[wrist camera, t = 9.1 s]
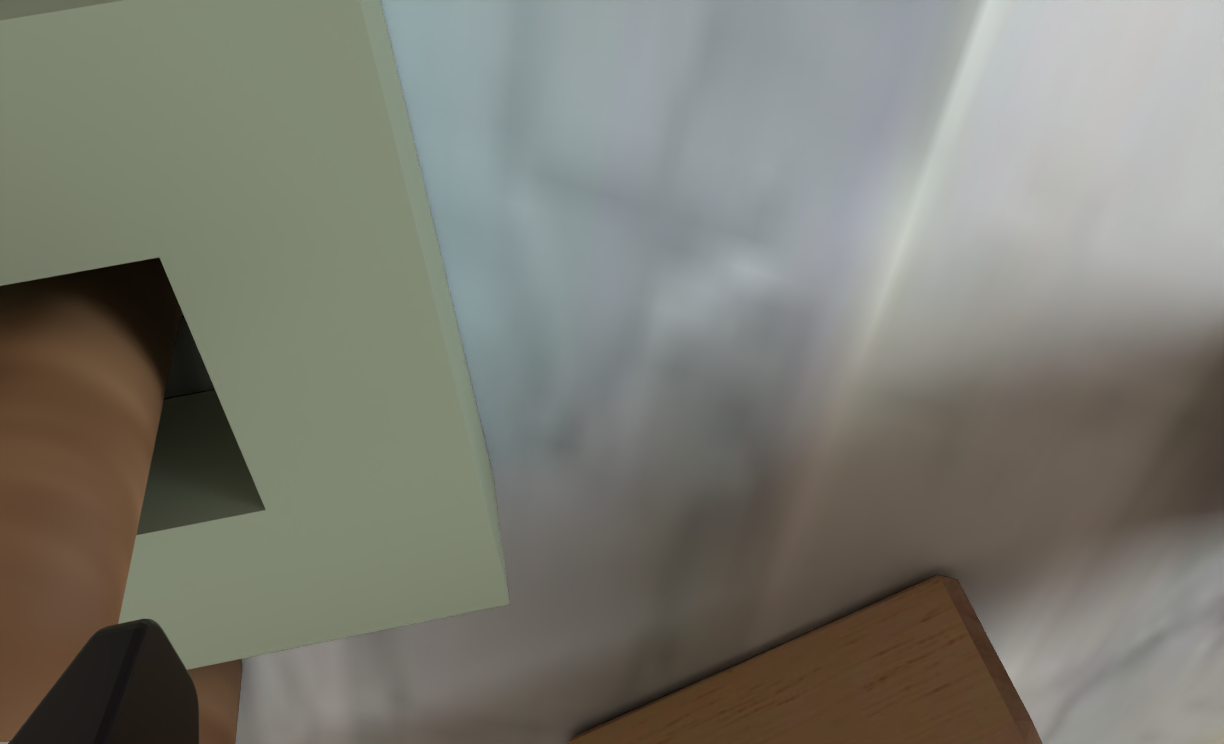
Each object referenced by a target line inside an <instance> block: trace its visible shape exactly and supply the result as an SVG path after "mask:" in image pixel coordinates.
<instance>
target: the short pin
mask: <svg viewBox="0 0 1224 744" xmlns="http://www.w3.org/2000/svg"><path fill="white" fill-rule="evenodd" d="M187 671H188V672H189V674H190V676H191V678H192V680H193V682H194V685H195V688H196V691H197V696H198V703H199V744H235V742H236V732H237V721H238V710H239V700H240V689H241V679H242V660H241V659H238V660H233V661H228V662H223V663H218V664H213V665H208V666H203V667H198V668H193V669H188V670H187Z"/></svg>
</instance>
